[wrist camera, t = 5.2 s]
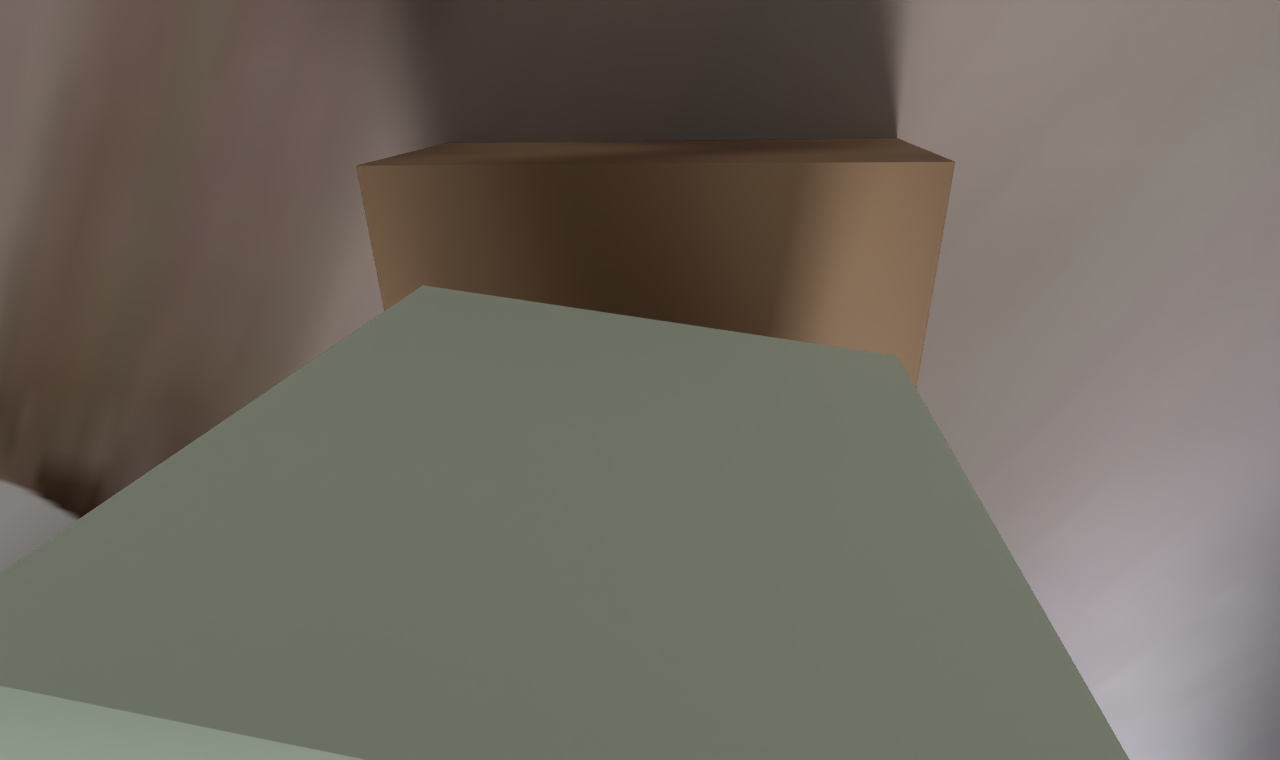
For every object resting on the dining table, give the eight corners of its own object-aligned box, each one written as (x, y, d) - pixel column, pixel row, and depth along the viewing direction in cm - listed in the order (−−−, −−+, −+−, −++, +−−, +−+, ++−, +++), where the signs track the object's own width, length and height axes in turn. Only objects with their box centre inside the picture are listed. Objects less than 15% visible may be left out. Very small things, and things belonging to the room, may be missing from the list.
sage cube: (897, 355, 8) (1228, 936, 3) (793, 695, 11) (855, 1335, 5) (422, 284, 8) (-130, 660, 3) (434, 628, 11) (150, 1158, 6)
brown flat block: (893, 136, 13) (955, 161, 9) (843, 515, 17) (873, 636, 13) (453, 141, 14) (356, 166, 10) (500, 494, 18) (440, 601, 14)
